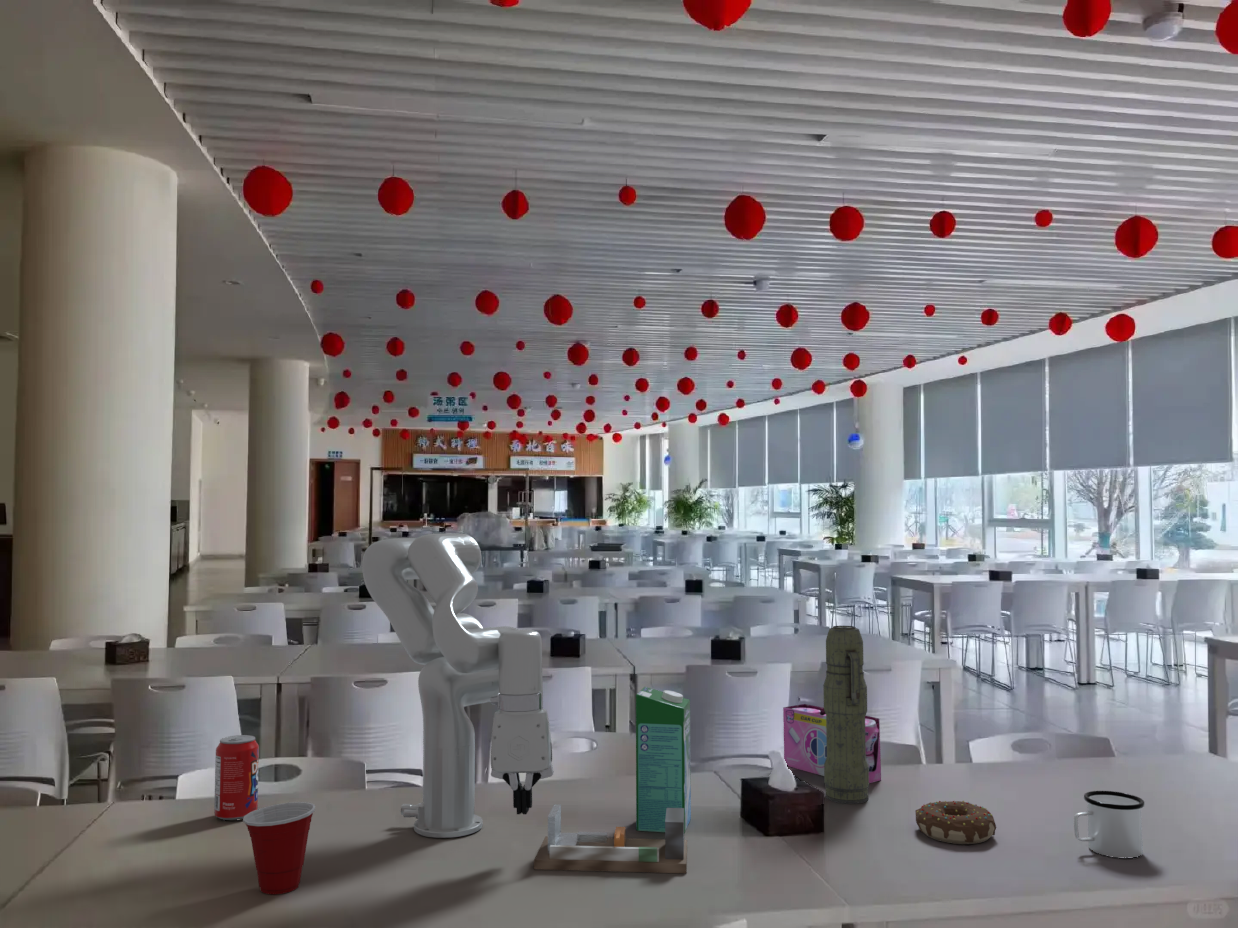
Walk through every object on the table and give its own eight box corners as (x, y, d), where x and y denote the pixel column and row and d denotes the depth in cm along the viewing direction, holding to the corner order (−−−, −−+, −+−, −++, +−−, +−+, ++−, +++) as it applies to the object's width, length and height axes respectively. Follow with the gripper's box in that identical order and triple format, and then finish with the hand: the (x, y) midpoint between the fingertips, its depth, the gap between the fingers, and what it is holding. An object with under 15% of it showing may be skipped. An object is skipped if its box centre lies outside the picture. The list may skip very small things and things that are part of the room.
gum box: (887, 782, 213) (886, 719, 214) (864, 788, 208) (862, 723, 209) (805, 760, 232) (804, 703, 233) (782, 765, 227) (781, 706, 228)
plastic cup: (252, 876, 157) (254, 800, 157) (321, 874, 157) (322, 798, 158) (231, 902, 146) (233, 821, 146) (305, 900, 147) (306, 819, 147)
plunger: (547, 853, 162) (547, 816, 162) (554, 839, 169) (554, 804, 169) (605, 854, 161) (605, 817, 161) (608, 840, 168) (608, 805, 168)
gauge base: (533, 869, 159) (534, 822, 160) (545, 845, 171) (545, 801, 172) (686, 873, 157) (686, 826, 158) (687, 848, 169) (686, 804, 170)
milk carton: (684, 834, 177) (683, 695, 179) (636, 831, 179) (635, 693, 181) (690, 819, 186) (690, 687, 188) (644, 816, 188) (644, 685, 189)
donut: (1007, 834, 177) (1007, 806, 178) (976, 853, 167) (976, 823, 168) (933, 818, 187) (932, 792, 187) (899, 835, 177) (899, 807, 177)
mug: (1123, 841, 173) (1121, 789, 173) (1159, 859, 164) (1157, 804, 164) (1060, 844, 172) (1058, 791, 172) (1092, 862, 162) (1090, 807, 163)
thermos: (851, 788, 207) (849, 623, 210) (880, 803, 196) (877, 629, 198) (814, 791, 205) (811, 624, 207) (840, 807, 194) (838, 630, 196)
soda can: (204, 820, 186) (206, 740, 187) (235, 808, 193) (236, 732, 194) (236, 824, 183) (238, 744, 184) (266, 813, 190) (267, 735, 191)
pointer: (612, 855, 159) (612, 837, 159) (616, 841, 166) (616, 824, 167) (622, 855, 159) (622, 838, 159) (625, 841, 166) (625, 824, 167)
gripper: (473, 707, 164) (474, 818, 162) (561, 706, 163) (563, 818, 161) (483, 700, 171) (484, 806, 170) (567, 698, 170) (569, 806, 169)
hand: (522, 812), depth 166 cm, fingers closed
